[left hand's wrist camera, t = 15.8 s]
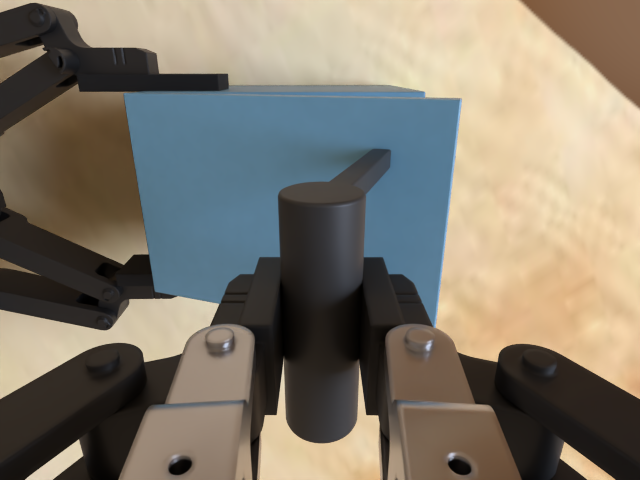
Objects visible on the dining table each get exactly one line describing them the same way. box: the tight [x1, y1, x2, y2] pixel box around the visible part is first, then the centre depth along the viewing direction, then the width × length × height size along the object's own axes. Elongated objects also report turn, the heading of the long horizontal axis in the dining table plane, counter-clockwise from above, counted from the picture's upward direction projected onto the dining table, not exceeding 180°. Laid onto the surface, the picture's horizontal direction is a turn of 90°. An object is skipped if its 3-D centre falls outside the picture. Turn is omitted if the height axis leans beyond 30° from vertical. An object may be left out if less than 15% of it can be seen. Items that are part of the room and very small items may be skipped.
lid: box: [124, 92, 462, 443], centre depth 15 cm, size 14×10×9 cm
